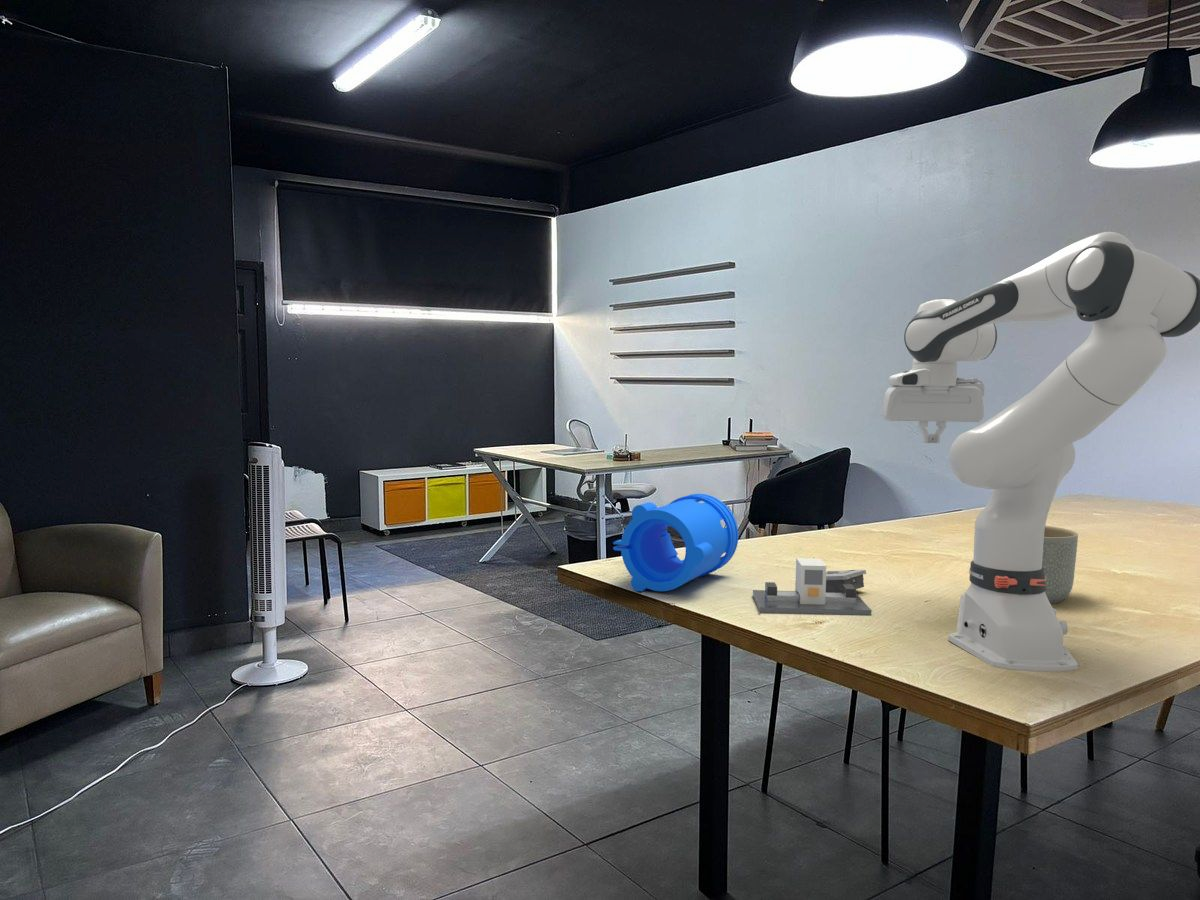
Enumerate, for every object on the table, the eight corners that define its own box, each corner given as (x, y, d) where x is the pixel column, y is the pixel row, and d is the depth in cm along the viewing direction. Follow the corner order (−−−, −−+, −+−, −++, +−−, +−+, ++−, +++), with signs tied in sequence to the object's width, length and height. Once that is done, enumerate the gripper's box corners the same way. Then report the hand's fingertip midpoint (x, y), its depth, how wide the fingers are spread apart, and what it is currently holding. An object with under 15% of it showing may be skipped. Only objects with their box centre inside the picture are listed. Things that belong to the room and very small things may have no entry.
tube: (659, 566, 216) (660, 490, 214) (742, 577, 205) (744, 497, 204) (612, 587, 194) (613, 502, 192) (703, 600, 183) (704, 511, 182)
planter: (1025, 612, 176) (1029, 539, 175) (970, 592, 192) (973, 524, 191) (1092, 607, 181) (1097, 535, 179) (1032, 588, 197) (1036, 522, 196)
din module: (825, 605, 175) (827, 566, 174) (801, 604, 175) (802, 566, 174) (818, 595, 182) (820, 558, 182) (795, 595, 183) (796, 558, 182)
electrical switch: (868, 569, 190) (844, 567, 184) (869, 593, 189) (845, 591, 183) (831, 571, 197) (807, 569, 191) (832, 593, 196) (808, 592, 190)
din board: (871, 617, 171) (872, 595, 171) (759, 614, 173) (760, 592, 173) (855, 599, 185) (856, 579, 185) (752, 596, 187) (753, 576, 186)
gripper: (979, 378, 183) (976, 442, 185) (881, 377, 185) (879, 441, 186) (990, 378, 177) (987, 444, 178) (889, 377, 179) (886, 443, 180)
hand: (931, 442), depth 182 cm, fingers closed
